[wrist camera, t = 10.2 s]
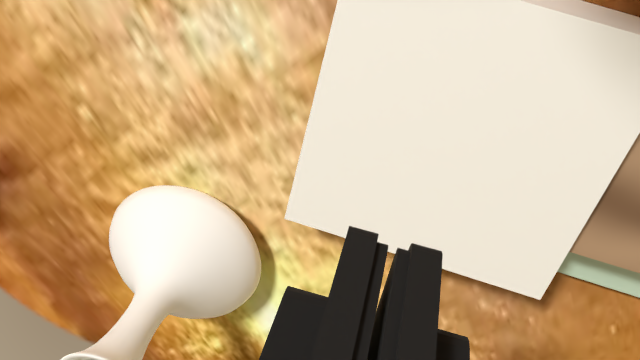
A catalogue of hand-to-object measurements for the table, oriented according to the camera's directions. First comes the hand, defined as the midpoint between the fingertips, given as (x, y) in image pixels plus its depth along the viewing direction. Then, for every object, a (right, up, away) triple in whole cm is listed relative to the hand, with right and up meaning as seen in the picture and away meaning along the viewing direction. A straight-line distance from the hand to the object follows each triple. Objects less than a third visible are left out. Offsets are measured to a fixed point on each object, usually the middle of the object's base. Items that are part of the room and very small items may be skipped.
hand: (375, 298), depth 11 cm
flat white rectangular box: (+7, +6, +24) cm, 26 cm away
